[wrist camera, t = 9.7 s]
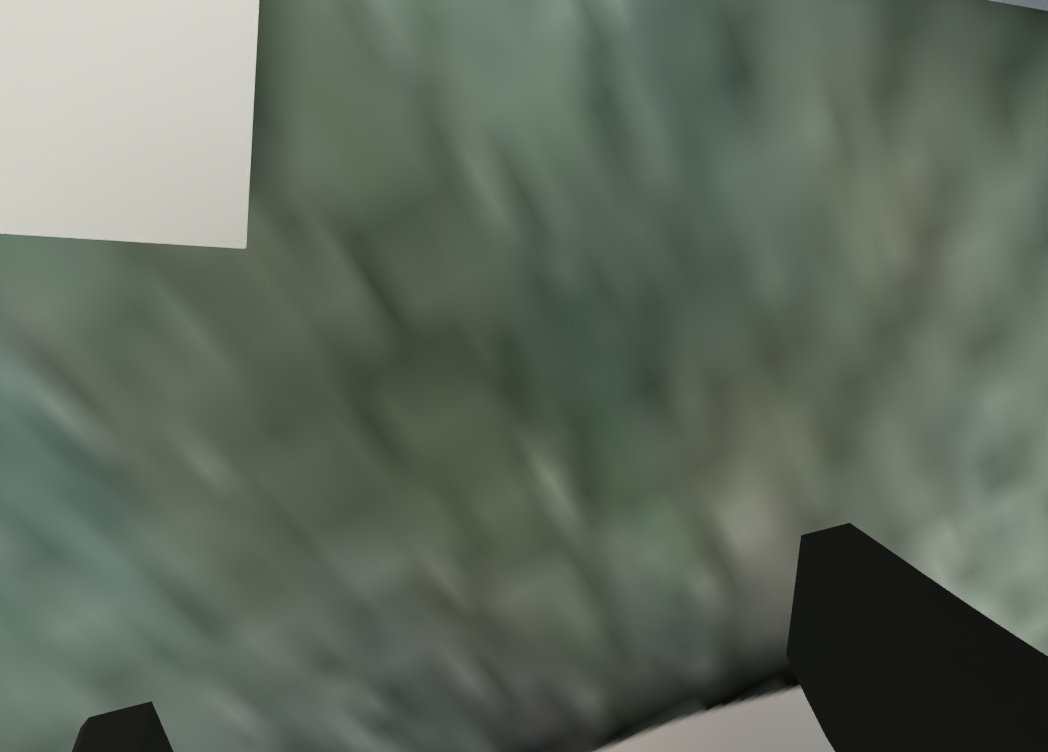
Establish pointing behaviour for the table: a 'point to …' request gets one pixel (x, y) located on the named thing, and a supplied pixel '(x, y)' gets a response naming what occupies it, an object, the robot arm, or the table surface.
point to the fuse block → (127, 119)
